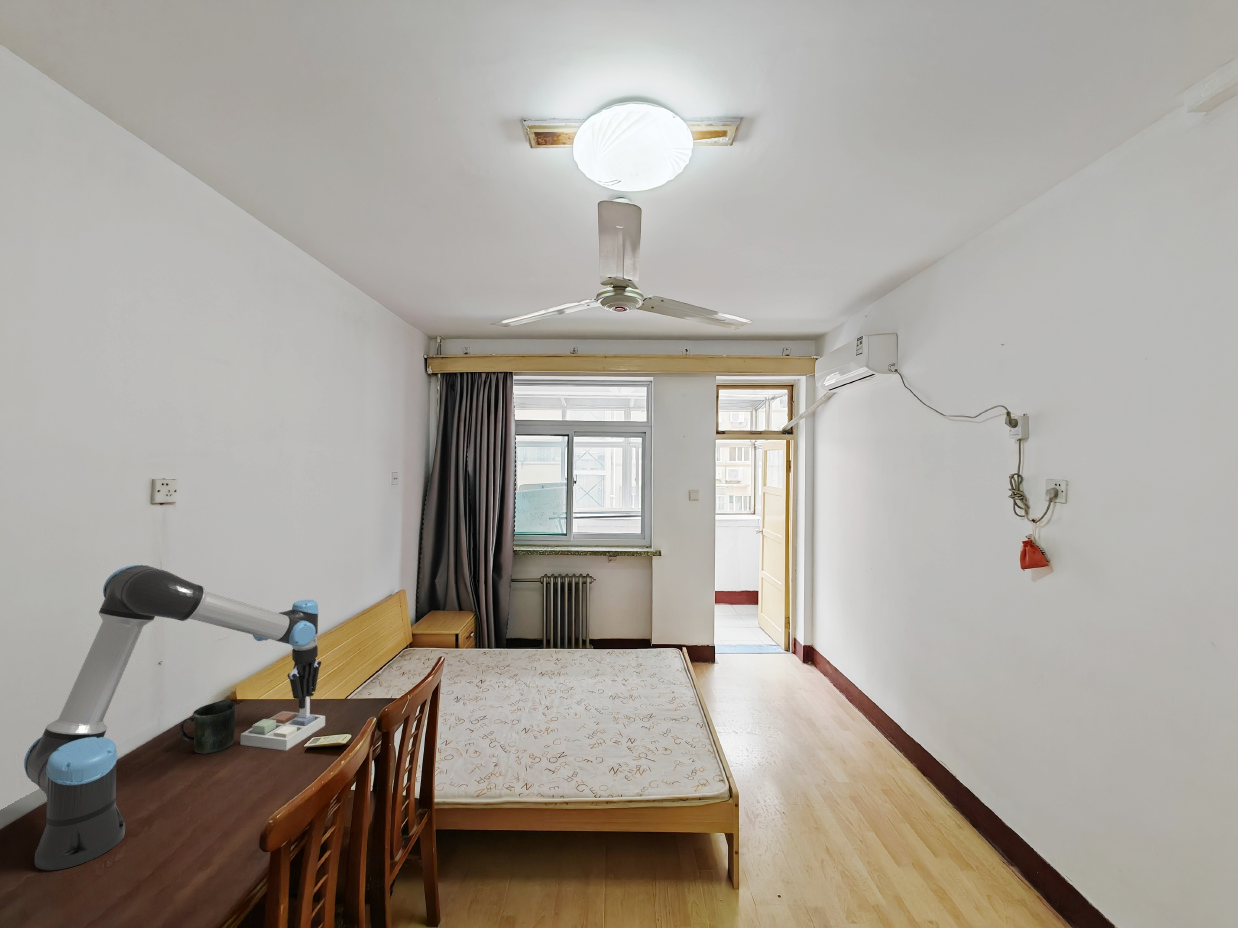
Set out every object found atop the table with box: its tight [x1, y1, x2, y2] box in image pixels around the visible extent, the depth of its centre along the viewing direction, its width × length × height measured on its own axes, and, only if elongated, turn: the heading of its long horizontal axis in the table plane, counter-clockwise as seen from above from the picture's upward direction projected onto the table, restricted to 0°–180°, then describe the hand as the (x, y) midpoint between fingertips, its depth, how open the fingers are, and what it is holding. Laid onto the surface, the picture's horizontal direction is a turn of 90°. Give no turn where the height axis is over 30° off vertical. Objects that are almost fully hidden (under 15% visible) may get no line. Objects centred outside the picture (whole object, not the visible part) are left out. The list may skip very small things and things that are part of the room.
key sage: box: [251, 718, 276, 734], centre depth 180 cm, size 5×5×3 cm
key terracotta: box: [272, 713, 295, 724], centre depth 188 cm, size 5×5×3 cm
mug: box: [179, 701, 237, 755], centre depth 175 cm, size 11×15×12 cm
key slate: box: [293, 713, 316, 726], centre depth 187 cm, size 5×5×3 cm
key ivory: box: [274, 726, 297, 738], centre depth 179 cm, size 5×5×3 cm
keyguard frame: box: [240, 710, 326, 752], centre depth 183 cm, size 17×17×3 cm
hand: (304, 716), depth 187 cm, fingers closed
